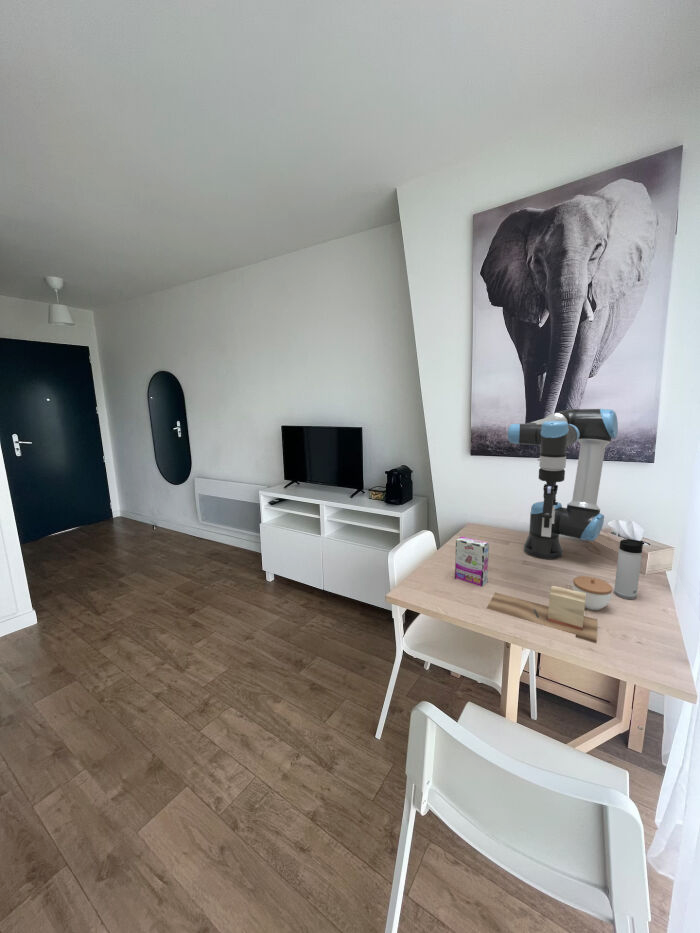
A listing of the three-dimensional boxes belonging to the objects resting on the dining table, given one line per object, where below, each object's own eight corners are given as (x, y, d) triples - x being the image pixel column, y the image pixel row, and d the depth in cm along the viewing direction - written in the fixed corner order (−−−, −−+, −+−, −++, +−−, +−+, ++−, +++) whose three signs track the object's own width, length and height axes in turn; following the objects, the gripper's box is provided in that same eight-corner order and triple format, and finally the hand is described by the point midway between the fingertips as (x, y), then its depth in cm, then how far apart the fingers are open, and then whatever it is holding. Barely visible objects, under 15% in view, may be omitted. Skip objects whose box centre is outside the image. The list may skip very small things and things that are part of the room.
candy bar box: (487, 583, 136) (490, 542, 133) (482, 588, 133) (484, 546, 130) (460, 574, 144) (461, 535, 141) (454, 579, 140) (455, 539, 137)
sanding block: (550, 611, 116) (552, 585, 115) (583, 620, 111) (585, 593, 109) (547, 620, 111) (549, 593, 110) (582, 630, 106) (585, 602, 105)
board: (495, 594, 128) (495, 592, 128) (596, 621, 112) (597, 619, 111) (486, 610, 119) (486, 608, 119) (596, 643, 102) (596, 640, 102)
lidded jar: (574, 593, 128) (576, 568, 127) (611, 603, 121) (614, 577, 120) (568, 606, 120) (571, 580, 118) (608, 618, 113) (611, 590, 112)
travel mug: (640, 601, 122) (647, 545, 119) (617, 597, 125) (623, 542, 121) (633, 592, 128) (640, 538, 125) (611, 589, 130) (617, 536, 127)
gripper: (542, 461, 131) (539, 516, 135) (534, 475, 111) (530, 540, 115) (566, 462, 127) (562, 519, 131) (562, 477, 107) (558, 544, 111)
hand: (547, 529), depth 123 cm, fingers open, 13 cm apart
